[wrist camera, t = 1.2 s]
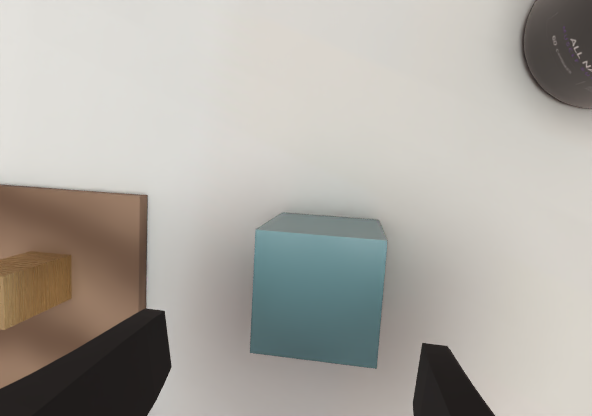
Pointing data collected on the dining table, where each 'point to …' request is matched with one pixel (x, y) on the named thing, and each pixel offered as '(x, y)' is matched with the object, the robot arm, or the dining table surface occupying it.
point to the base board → (73, 268)
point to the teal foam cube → (318, 288)
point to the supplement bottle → (561, 49)
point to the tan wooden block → (32, 285)
